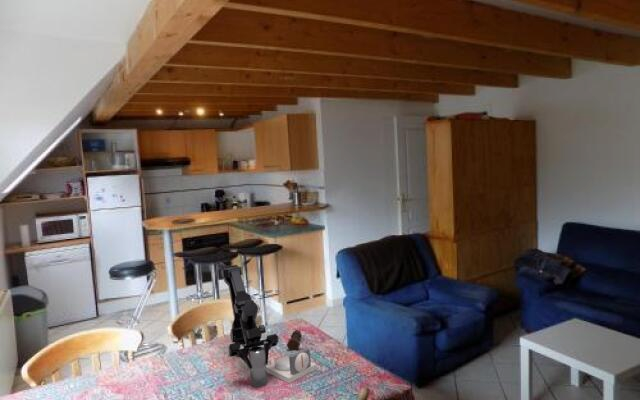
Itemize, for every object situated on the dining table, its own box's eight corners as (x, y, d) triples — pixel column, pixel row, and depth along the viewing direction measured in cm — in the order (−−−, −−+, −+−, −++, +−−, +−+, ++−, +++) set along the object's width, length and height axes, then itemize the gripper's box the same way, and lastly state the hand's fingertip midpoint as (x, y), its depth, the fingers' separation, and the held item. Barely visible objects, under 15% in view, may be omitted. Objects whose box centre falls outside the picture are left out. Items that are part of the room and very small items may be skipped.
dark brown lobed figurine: (299, 340, 201) (295, 353, 186) (290, 335, 201) (285, 348, 186) (304, 329, 201) (301, 342, 186) (295, 324, 201) (290, 337, 186)
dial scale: (266, 372, 168) (264, 350, 168) (293, 358, 178) (291, 338, 177) (289, 383, 158) (287, 360, 157) (316, 369, 168) (315, 347, 167)
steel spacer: (248, 384, 160) (245, 350, 159) (261, 377, 164) (258, 344, 163) (257, 389, 156) (254, 354, 155) (270, 382, 160) (267, 349, 159)
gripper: (226, 323, 158) (235, 364, 149) (275, 313, 165) (286, 351, 156) (225, 336, 166) (233, 376, 157) (271, 326, 173) (281, 363, 164)
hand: (258, 366), depth 158 cm, fingers closed on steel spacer, 6 cm apart
